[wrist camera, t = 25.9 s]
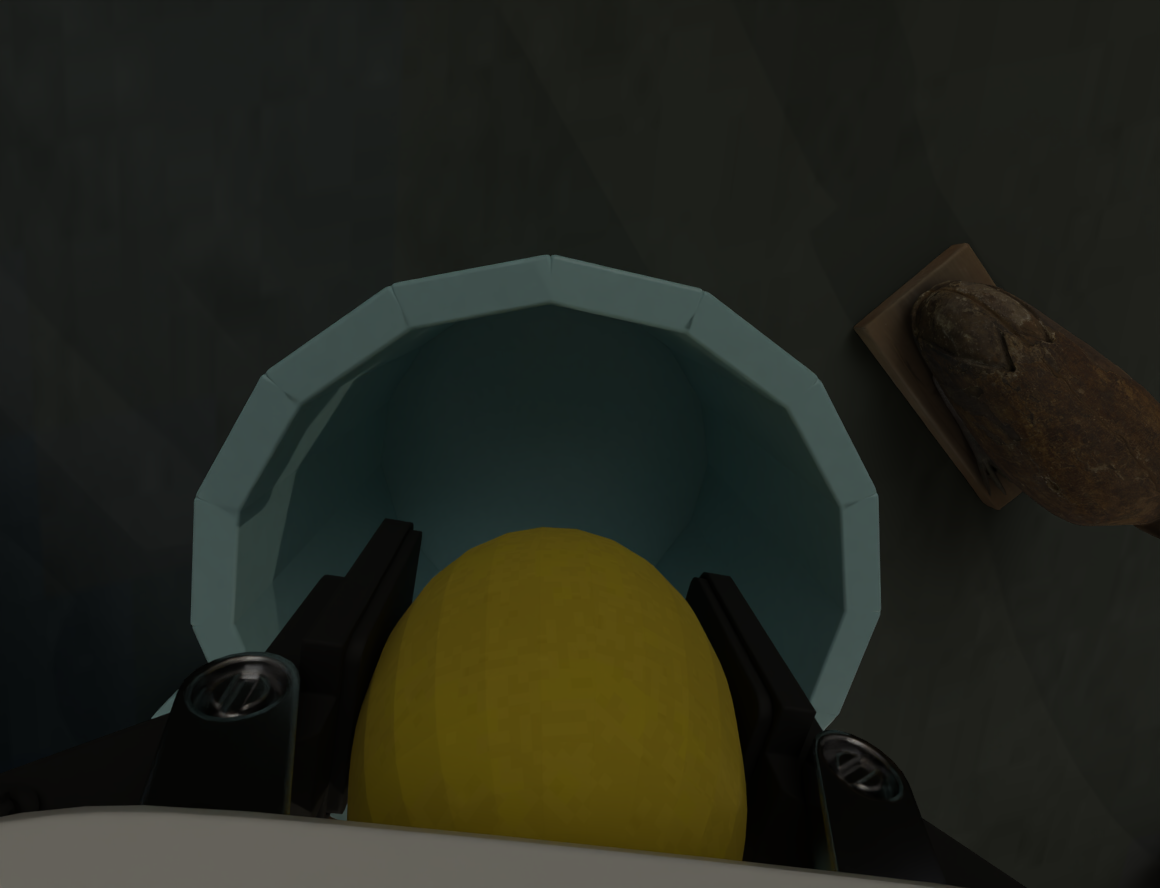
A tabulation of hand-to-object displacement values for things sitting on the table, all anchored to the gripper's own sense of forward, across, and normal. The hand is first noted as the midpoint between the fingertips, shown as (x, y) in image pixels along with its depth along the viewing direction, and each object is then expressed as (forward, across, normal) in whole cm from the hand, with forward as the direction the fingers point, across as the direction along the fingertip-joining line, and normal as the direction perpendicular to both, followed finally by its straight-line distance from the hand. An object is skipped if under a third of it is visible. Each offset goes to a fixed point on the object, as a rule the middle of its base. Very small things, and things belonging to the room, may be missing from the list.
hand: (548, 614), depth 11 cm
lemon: (+1, 0, 0) cm, 1 cm away
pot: (+10, 0, 0) cm, 10 cm away
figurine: (+10, -17, -5) cm, 21 cm away
